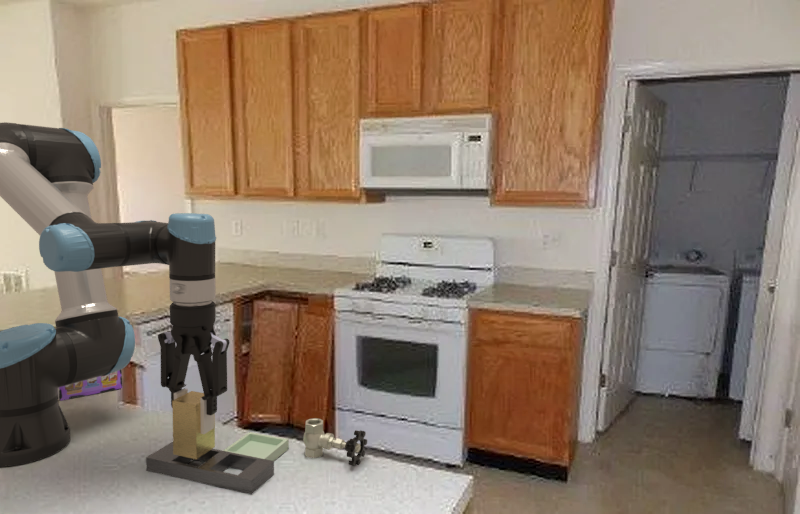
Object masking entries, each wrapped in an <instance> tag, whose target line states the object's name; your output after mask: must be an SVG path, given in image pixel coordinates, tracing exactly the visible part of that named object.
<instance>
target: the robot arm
mask: <svg viewBox="0 0 800 514" xmlns="http://www.w3.org/2000/svg"><path fill="white" fill-rule="evenodd" d="M101 168H102V160H101V156H100V153H99V149H98V147H97V145H96V144H95V142H94V141H93V139H92V138H91V137H90V136H89V135H87V134H85V133H84V132H82V131H78V130H72V129H69V128H65V127H58V128H57V127H50V126H41V125H31V124H22V123H21V124H20V123H15V122H5V121H4V122H0V198H1V199H3V201H4V202H5V203H6V204H8V206H9V207H11V208H12V210H14V211H15V213H17V215H18V216H20V218H21V219H22V220H24V221H25V222H26V224H27V225H28V226H30V227H31V228H32V229H33V230H34V231H35V232H36V233H37V234H38V235H39V241H38V249H39V254H40V257H41V258H42V262H43V264H44V265H45V267H46V268H47V269H48V270H51V271H53V272H54V275H55V276H54V277H55V281H56V282H55V283H56V287H57V292H58V297H59V302H60V309H61V312H60V313H59V314H58V315H57V317H56V318H55V319H54V323H55V326H54V325H53V324H51V323H47V322H37V323H32V324H22V325H18V326H12V327H9V328H6V329H3V330H0V467H1V468H2V467H12V466H19V465H23V464H29V463H33V462H36V461H40V460H42V459H45V458H48V457H49V456H52V455H54V454H56V453H59V452H60V451H62V450H63V449H64V448H66V447H67V446H68V444H70V442H71V428H70V426H69V424H68V421H67V420H66V416H65V414H64V412H63V410H62V409H61V407H60V405H59V399H58V388H59V387H61V386H65V385H69V384H73V383H76V382H80V381H84V380H88V379H91V378H95V377H99V376H106V375H108V374H110V373H113V372H116V371H119V370H121V371H122V370H123V369H125V367H127V366H128V364H130V362H131V360H132V357H133V356H134V352H135V347H136V335H135V330H134V327H133V325H132V324H131V322H130V320H128V319H127V318H125V317H122V316H121V315H120V316H119V311H118V308H117V307H115V306H113V305H112V304H110V303H109V301H108V296H107V292H106V287H105V286H106V285H105V280H104V275H103V271H102V269H105V268H107V269H108V268H116V267H117V268H118V267H128V266H139V265H150V264H160V265H167V266H168V268H169V273H168V275H169V277H168V279H169V300H170V301H171V303H170V305H169V323H170V325H172V327H171V329H170V330H168V331H167V330H166V331H164V332H162V333H158V335H157V338H158V343H159V345H160V346H159V347H160V386H161V387H162V388H167V389H168V390H169V392H170V402H171V403H170V406H171V408H172V409H173V405H172V401H173V400H175V399H177V398H179V397H181V396H183V395H185V394H187V393H189V390H188V388H186V386H187V384H186V383H185V382H186V377H187V372H188V368H189V363H190V360H191V356H193V360H194V362H196V365H197V369H198V373H199V378H200V382H201V383H200V384H201V387H202V393H204V396H203V397H202V398H200V408H201V434H206V433H207V432H209V431H210V430H212V429H213V428H214V413H215V414H216V413H217V411H218V397H220V396H221V395H222V394H225V393H226V392H227V391H228V355H227V354H228V348H229V347H230V340H229V339H228V338H227V337H226V338H224V339H222V338H220V337H219V336H217V333H216V330H215V327H214V325H215V322H216V319H217V318H216V317H217V315H216V309H217V308H216V303H215V302H214V300H215V299H216V298H217V297H216V296H217V295H216V294H217V293H216V292H217V291H216V289H217V287H216V241H217V235H216V227H215V219H214V217H213V216H212V215H210V214H208V213H193V212H192V213H190V212H187V213H186V212H184V213H183V212H182V213H179V212H177V213H172V214H170V215H169V217H168V221H167V222H161V221H157V220H152V219H150V220H139V221H135V222H106V223H105V222H100V223H99V222H96V221H94V220H93V219H92V214H91V207H90V203H89V197H88V195H89V194H90V193H92V191H93V190H94V183H96V182H97V181H98V179H99V178H100V176H101V170H100V169H101ZM211 345H212V346H211ZM184 387H185V388H184Z"/></svg>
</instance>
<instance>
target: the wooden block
mask: <svg viewBox="0 0 800 514" xmlns="http://www.w3.org/2000/svg"><path fill="white" fill-rule="evenodd" d="M203 396H204V392H199V391H194V390H191V391H188V393H187V394H185V395H183V396H181V397H179V398H177V399H175V400H173V401H172V405H173V408H172V442H173V454H174V455H179V456H183V457H188V458H192V459H194V460H195V459H198V458H200V457H201V456H202V455H204V454H205V453H207V452H208V451H210V450H211V449H215V446H216V445H215V444H216V441H215V440H216V439H215V438H216V436H215V435H216V431H215V429H216V426H215V425H216V421H215V419H216V418H215V417H216V415H215V414H216V413H214V428H213V429H212V430H210V431H209V432H207V433H206V434H201V408H200V398H202V397H203Z"/></svg>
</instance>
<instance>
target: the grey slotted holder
mask: <svg viewBox="0 0 800 514" xmlns="http://www.w3.org/2000/svg"><path fill="white" fill-rule="evenodd" d="M193 460H196V461H200V462H203V463H202V464H200V465H198V466H197V465H192V464H189V463H191V462H192V461H193ZM145 467H146V469H145V471H147V472H151V473H155V474H160V475H165V476H170V477H173V478H177V479H182V480H186V481H191V482H196V483H200V484H202V485H203V484H204V485H208V486H213V487H216V488H220V489H221V488H222V489H227V490H230V491H235V492H239V493H244V494H248V495H253V494H254V493H255V492H256V491H257V490H258V489H259V488H260V487H262V486H263V484H265V483H266V482H267V481H268V480H270V479H271V477H273V476H274V475H275V461H271V460H266V459H261V458H256V457H251V456H246V455H242V454H237V453H232V452H227V451H223V450H221V449H217V448H216V449H215V448H213V449H211V450H210V451H208V452H207V453H205V454H204V455H202V456H201V457H200V458H198V459H192V458H188V457H183V456H179V455H174V454H173V441H171V442H169V443H168V444H166V445H164V446H162V447H161V448H160V449H158V450H156V451H154V452H152V453H151V454H149V455H148V456H146V457H145ZM229 468H234V469H237V468H238V469H239V470H242V471H241V472H240V473H239V474H234V473H231V472H230V473H229V472H226V470H228V469H229Z"/></svg>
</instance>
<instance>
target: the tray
mask: <svg viewBox="0 0 800 514" xmlns="http://www.w3.org/2000/svg"><path fill="white" fill-rule="evenodd" d="M289 441H290V440H289V438H284V437H279V436H273V435H268V434H262V433H257V432H250V431H249V432H247V433H246V434H244V435H243V436H241V437H240V438H239V439H237V440H236V441H234V442H233V443H232V444H230V445H229V446H227V447H226V448H225V449H223V450H222V451H227V452H232V453H237V454H242V455H246V456H251V457H256V458H261V459H266V460H271V461H274V462H275V461H276V460H277V459H279V458H280V456H283V454H284V453H286V452H287V451H288V450H289V448H290V445H289V443H290V442H289Z"/></svg>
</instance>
